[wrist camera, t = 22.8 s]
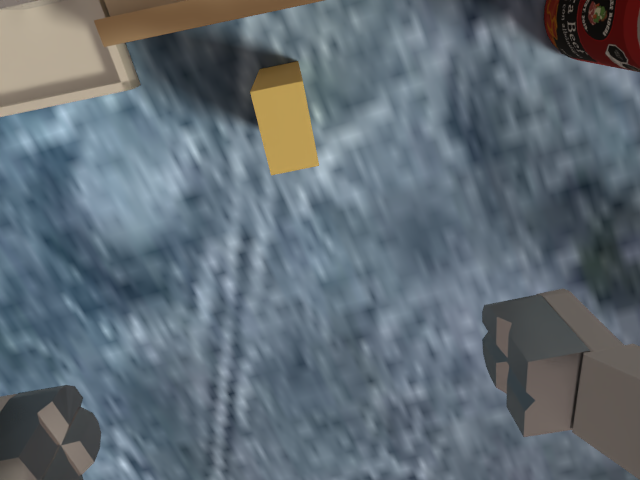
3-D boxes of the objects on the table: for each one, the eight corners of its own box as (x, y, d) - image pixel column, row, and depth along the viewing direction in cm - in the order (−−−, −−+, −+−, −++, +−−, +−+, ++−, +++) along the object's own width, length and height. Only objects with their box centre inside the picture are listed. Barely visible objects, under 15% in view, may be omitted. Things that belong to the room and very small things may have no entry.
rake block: (259, 69, 33) (250, 91, 24) (298, 61, 33) (302, 81, 24) (274, 133, 36) (271, 175, 27) (310, 126, 36) (319, 165, 27)
